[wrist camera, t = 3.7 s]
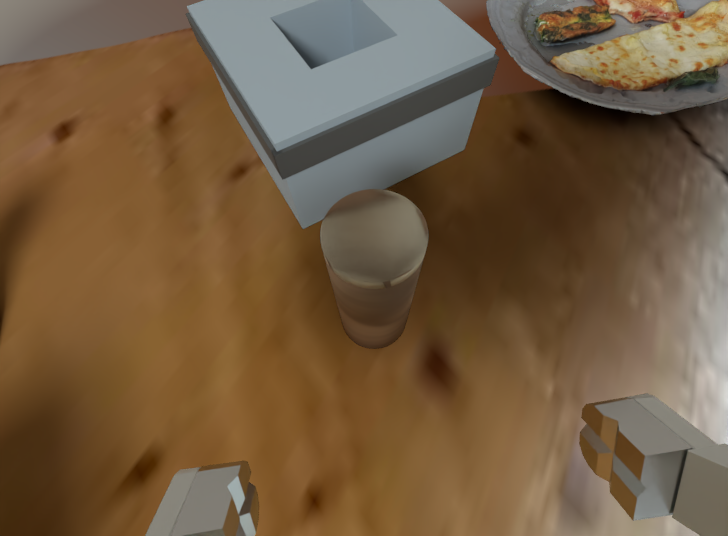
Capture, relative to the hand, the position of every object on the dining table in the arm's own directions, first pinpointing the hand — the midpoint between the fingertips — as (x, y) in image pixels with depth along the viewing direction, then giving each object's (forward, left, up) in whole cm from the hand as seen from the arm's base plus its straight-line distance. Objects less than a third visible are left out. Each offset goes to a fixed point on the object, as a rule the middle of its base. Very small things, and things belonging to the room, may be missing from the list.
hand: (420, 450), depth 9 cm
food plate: (-37, -19, -12) cm, 43 cm away
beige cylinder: (-3, -7, -12) cm, 14 cm away
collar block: (-9, -22, -12) cm, 26 cm away
